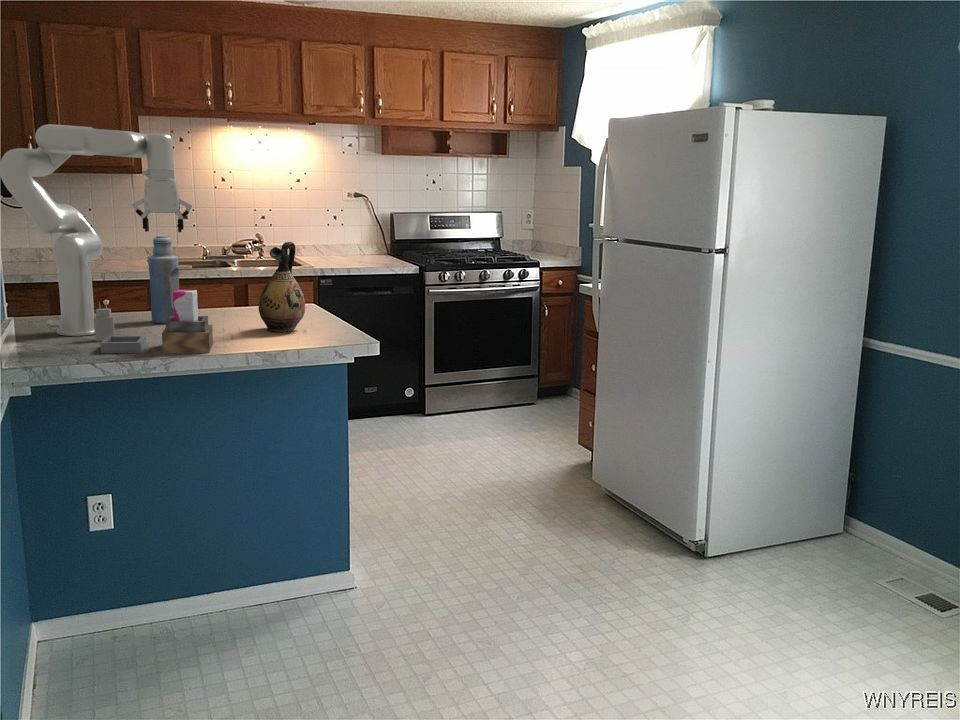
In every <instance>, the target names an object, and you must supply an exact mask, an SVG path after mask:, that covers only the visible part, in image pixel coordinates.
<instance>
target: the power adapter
mask: <svg viewBox="0 0 960 720" xmlns="http://www.w3.org/2000/svg"><path fill="white" fill-rule="evenodd" d="M98 306H99V307H98V308H96V309H95V316H94V330H95V334H94V340H95V341H96V342H102V341H103V340H104V339H105V338H106V337H107V336H116V331H115V317H114V316H113V315H112V309H111V308H108V305H107V301H105V308H101V302H100V301H98Z"/></svg>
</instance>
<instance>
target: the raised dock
mask: <svg viewBox="0 0 960 720" xmlns="http://www.w3.org/2000/svg"><path fill="white" fill-rule="evenodd" d="M163 329H164V330H162V332H161V340H162V341H161V345H162V346H161V347H162V354H204V353H210V352H211V350H212V348H213V344H214V336H213V335H214V334H213V324H209V316H208V315H198V321H174V316H170V317H169V319H168V320H167V321H166V324H165V328H163Z"/></svg>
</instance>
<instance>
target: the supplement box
mask: <svg viewBox="0 0 960 720" xmlns="http://www.w3.org/2000/svg"><path fill="white" fill-rule="evenodd" d="M198 306H199V305H198V290H197V289H179V290H177V291H174V292H173V309H174V321H198V316H199V308H198Z"/></svg>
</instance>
